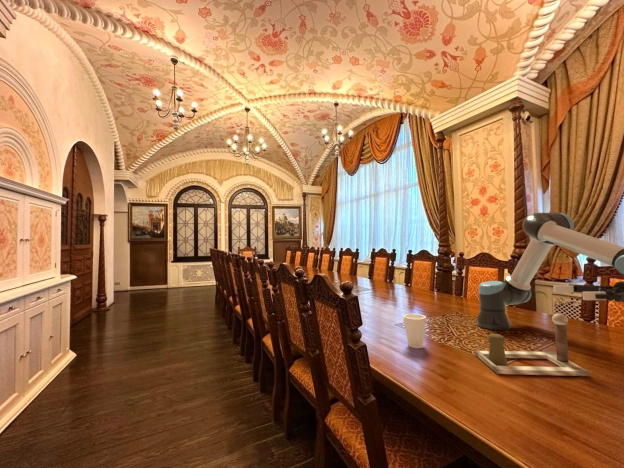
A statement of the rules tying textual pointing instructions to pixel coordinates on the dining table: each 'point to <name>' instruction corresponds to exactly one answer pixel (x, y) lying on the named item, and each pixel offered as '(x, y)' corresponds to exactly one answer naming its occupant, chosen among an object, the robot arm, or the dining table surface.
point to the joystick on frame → (542, 356)
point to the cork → (497, 350)
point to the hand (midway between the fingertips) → (567, 292)
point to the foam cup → (415, 329)
